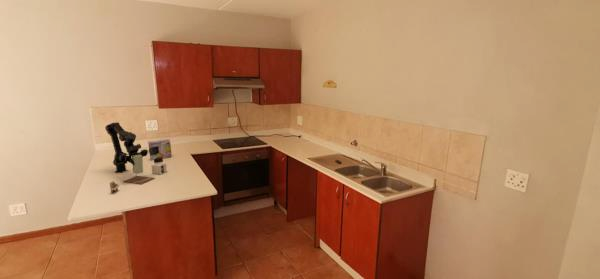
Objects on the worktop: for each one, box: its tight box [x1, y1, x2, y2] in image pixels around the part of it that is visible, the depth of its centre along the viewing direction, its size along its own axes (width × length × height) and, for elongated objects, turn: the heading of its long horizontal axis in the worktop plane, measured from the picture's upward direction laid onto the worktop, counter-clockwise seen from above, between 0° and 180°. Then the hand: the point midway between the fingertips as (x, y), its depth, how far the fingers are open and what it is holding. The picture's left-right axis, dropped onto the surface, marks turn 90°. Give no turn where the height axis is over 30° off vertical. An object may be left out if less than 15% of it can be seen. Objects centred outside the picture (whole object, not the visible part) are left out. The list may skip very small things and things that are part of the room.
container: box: [150, 157, 168, 176], centre depth 234 cm, size 8×8×13 cm
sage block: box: [131, 154, 144, 175], centre depth 216 cm, size 5×5×13 cm
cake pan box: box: [147, 138, 173, 161], centre depth 274 cm, size 19×5×18 cm, turn 129°
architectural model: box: [109, 180, 121, 194], centre depth 196 cm, size 3×7×7 cm, turn 8°
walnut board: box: [123, 175, 156, 185], centre depth 218 cm, size 16×13×1 cm
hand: (138, 164), depth 215 cm, fingers closed on sage block, 5 cm apart
